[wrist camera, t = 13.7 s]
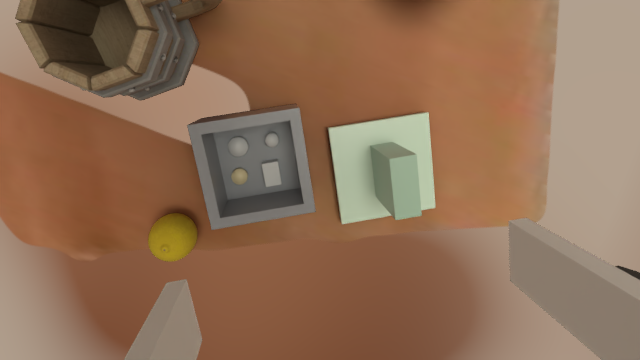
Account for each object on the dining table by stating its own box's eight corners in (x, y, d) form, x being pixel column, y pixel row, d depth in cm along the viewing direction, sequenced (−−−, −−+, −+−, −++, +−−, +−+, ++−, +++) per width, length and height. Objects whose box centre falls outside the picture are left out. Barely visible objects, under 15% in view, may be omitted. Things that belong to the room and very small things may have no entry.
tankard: (116, 110, 48) (45, 123, 33) (62, 5, 44) (-42, -31, 30) (268, 52, 48) (264, 40, 34) (226, -57, 45) (201, -123, 30)
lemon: (156, 208, 51) (134, 230, 44) (198, 203, 52) (184, 224, 44) (164, 246, 53) (144, 275, 45) (205, 241, 53) (193, 268, 45)
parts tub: (201, 118, 49) (187, 125, 41) (296, 103, 50) (299, 107, 42) (221, 207, 52) (211, 229, 44) (310, 192, 53) (315, 211, 45)
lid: (326, 126, 51) (339, 138, 40) (422, 111, 52) (460, 119, 41) (339, 219, 54) (354, 252, 44) (429, 203, 55) (466, 232, 45)
